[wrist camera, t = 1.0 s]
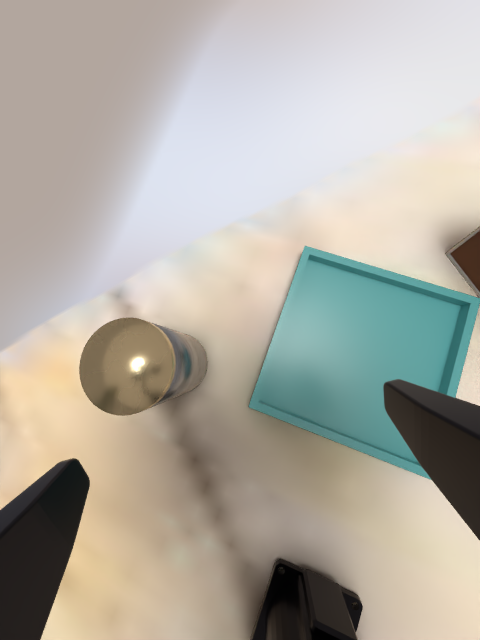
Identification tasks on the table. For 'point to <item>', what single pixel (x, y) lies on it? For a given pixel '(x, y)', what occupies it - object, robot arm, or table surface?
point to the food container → (468, 259)
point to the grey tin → (139, 365)
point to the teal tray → (360, 351)
